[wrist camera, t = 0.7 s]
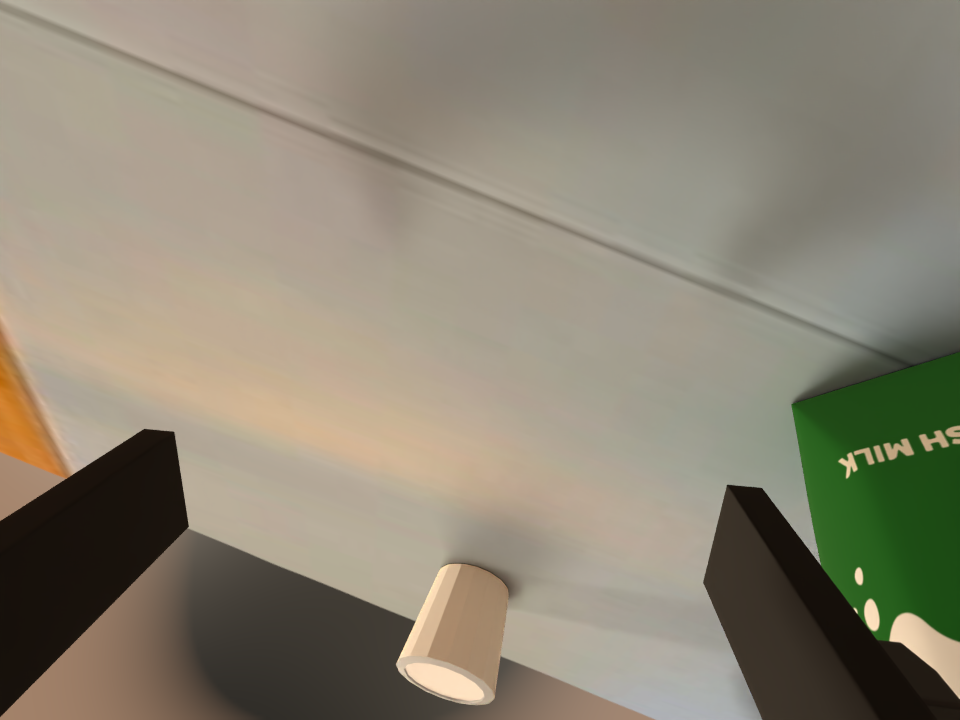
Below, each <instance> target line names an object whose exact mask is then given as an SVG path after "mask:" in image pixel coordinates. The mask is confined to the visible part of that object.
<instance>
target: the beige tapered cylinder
mask: <svg viewBox="0 0 960 720" xmlns="http://www.w3.org/2000/svg"><path fill="white" fill-rule="evenodd" d="M508 598H509V593H508V588H507V587H506V585H505V584H504V583H503V582H502V580H500V579H499V578H498V577H496V576H495V575H493V574H492V573H490V572H488V571H486V570H483V569H481V568H479V567H476V566H471V565H467V564H448V565H446V566H444V567H441V569H440V571H439V573H438V575H437V577H436V579H435V581H434V583H433V586H432V588H431V590H430V592H429V594H428V596H427V599H426V601H425V603H424V605H423V607H422V609H421V612H420V614H419V616H418V618H417V620H416V622H415V625H414V627H413V629H412V631H411V633H410V635H409V638H408V640H407V642H406V644H405V646H404V648H403V651H402V653H401V655H400V657H399V659H398V661H397V664H396V665H397V667H398V670H399V672H400V673H401V674H402V675H403V676H404V677H405V678H406V679H407V680H408V681H410V682H411V683H413V684H415V685H416V686H418V687H419V688H421V689H423V690H424V691H427V692H429V693H431V694H434V695H436V696H438V697H441V698H443V699H447V700H450V701H454V702H457V703H462V704H471V705H483V704H489V703H490V702H491V701H492V700H493V699H494V697H495V690H496V683H497V676H498V669H499V662H500V655H501V648H502V641H503V634H504V627H505V620H506V613H507V605H508Z"/></svg>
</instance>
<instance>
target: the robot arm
mask: <svg viewBox="0 0 960 720" xmlns="http://www.w3.org/2000/svg"><path fill="white" fill-rule="evenodd" d="M188 527H189V525H188V519H187V512H186V505H185V499H184V492H183V486H182V479H181V473H180V466H179V460H178V453H177V447H176V440H175V434H174V432H170V431H160V430H150V429H144V430H142V431H140V432H139V433H137V434H136V435H134V436H133V437H131V438H130V439H128V440H126V441H125V442H123V443H122V444H120V445H119V446H117V447H115V448H114V449H112V450H111V451H109V452H108V453H106V454H105V455H103V456H101V457H100V458H98V459H97V460H95V461H94V462H92V463H90V464H89V465H87V466H86V467H84V468H83V469H81V470H80V471H78V472H76V473H75V474H73V475H72V476H70V477H69V478H67V479H65V480H64V481H62V482H61V483H59V484H58V485H56V486H55V487H53V488H51V489H50V490H48V491H47V492H45V493H44V494H42V495H41V496H39V497H37V498H36V499H34V500H33V501H31V502H29V503H28V504H26V505H25V506H23V507H22V508H20V509H19V510H17V511H15V512H14V513H12V514H11V515H10V516H8V517H6V518H4V519H3V520H1V521H0V717H1V715H3V714H4V713H5V712H6V711H7V710H8V708H9V707H11V706H12V705H13V704H14V703H15V701H16V700H17V699H18V698H19V697H20V696H21V695H22V694H23V693H24V692H25V691H26V690H27V689H28V688H29V687H30V686H31V685H32V684H33V683H34V682H35V681H36V680H37V679H38V678H39V677H40V676H41V675H42V674H43V673H44V672H45V671H46V670H47V669H48V668H49V667H50V666H51V665H52V664H53V663H54V662H55V661H56V660H57V659H58V658H59V657H60V656H61V655H62V654H63V653H64V652H65V651H66V650H67V649H68V648H69V647H70V646H71V645H72V644H73V643H74V642H75V641H76V640H77V639H78V638H79V637H80V636H81V635H82V634H83V633H84V632H85V631H86V630H87V629H88V628H89V627H90V626H91V625H92V624H93V623H94V622H95V621H96V620H97V619H98V618H99V617H100V616H101V615H102V614H103V613H104V612H105V611H106V610H107V609H108V608H109V607H110V606H111V605H112V604H113V603H114V602H115V600H116V599H117V598H119V597H120V595H121V594H122V593H124V591H126V589H127V588H128V587H129V586H130V585H131V584H132V583H133V582H134V581H135V580H136V579H137V578H138V577H139V576H140V575H141V574H142V573H143V572H144V571H145V570H146V569H147V568H148V567H149V566H150V565H151V564H152V563H153V562H154V561H155V560H156V559H157V558H158V557H159V556H160V555H161V554H162V553H163V552H164V551H165V550H166V549H167V548H168V547H169V546H170V545H171V544H172V543H173V542H174V541H175V540H176V539H177V538H178V537H179V536H180V535H181V534H182V533H183V532H184V531H185V530H186V529H187V528H188ZM703 583H704V585H705V588H706V590H707V592H708V595H709V597H710V599H711V601H712V604H713V606H714V608H715V611H716V613H717V615H718V618H719V620H720V622H721V625H722V627H723V629H724V631H725V634H726V636H727V638H728V641H729V643H730V645H731V648H732V650H733V652H734V655H735V657H736V659H737V662H738V664H739V666H740V668H741V671H742V673H743V675H744V678H745V680H746V682H747V685H748V687H749V689H750V692H751V694H752V696H753V699H754V701H755V703H756V705H757V708H758V710H759V712H760V715H761V717H762V719H763V720H960V699H959V698H958V696H957V695H956V694H955V693H954V692H953V690H952V689H951V688H950V687H949V686H948V684H947V683H946V682H945V681H944V680H943V678H942V677H941V676H940V675H939V674H938V672H937V671H936V670H934V669H933V668H932V667H931V666H929V665H928V664H927V663H926V662H924V661H923V660H922V659H921V658H920V657H918V656H917V655H916V654H915V653H913V652H912V651H911V650H910V649H908V648H907V647H906V646H905V645H903V644H902V643H901V642H892V641H883V640H877V639H876V638H875V637H874V635H873V634H872V633H871V631H870V630H869V629H868V627H867V626H866V625H865V623H864V622H863V621H862V619H861V618H860V617H859V615H858V614H857V613H856V611H855V610H854V609H853V607H852V606H851V605H850V604H849V602H848V601H847V600H846V598H845V597H844V596H843V594H842V593H841V592H840V590H839V589H838V588H837V586H836V585H835V584H834V582H833V581H832V580H831V578H830V577H829V576H828V575H827V573H826V572H825V571H824V569H823V568H822V567H821V565H820V564H819V563H818V561H817V560H816V559H815V557H814V556H813V555H812V553H811V552H810V551H809V549H808V548H807V547H806V545H805V544H804V543H803V542H802V540H801V539H800V538H799V536H798V535H797V534H796V532H795V531H794V530H793V528H792V527H791V526H790V524H789V523H788V522H787V520H786V519H785V518H784V516H783V515H782V514H781V512H780V511H779V510H778V509H777V507H776V506H775V505H774V503H773V502H772V501H771V499H770V498H769V497H768V495H767V494H766V493H765V491H764V490H763V489H762V488H755V487H745V486H735V485H727V488H726V492H725V496H724V500H723V504H722V508H721V512H720V516H719V520H718V524H717V528H716V533H715V537H714V541H713V545H712V549H711V553H710V557H709V561H708V565H707V569H706V574H705V578H704V582H703Z"/></svg>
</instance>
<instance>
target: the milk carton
mask: <svg viewBox="0 0 960 720" xmlns="http://www.w3.org/2000/svg"><path fill="white" fill-rule="evenodd" d="M791 405H792V410H793V415H794V421H795V426H796V432H797V438H798V444H799V450H800V455H801V461H802V467H803V473H804V478H805V484H806V490H807V496H808V501H809V507H810V512H811V518H812V523H813V528H814V533H815V538H816V543H817V548H818V553H819V557H820V562H821V567H822V568H823V569H824V571H825V572H826V573H827V575H828V576H829V577H830V578H831V580H832V581H833V582H834V584H835V585H836V586H837V588H838V589H839V590H840V592H841V593H842V594H843V596H844V597H845V598H846V600H847V601H848V602H849V604H850V605H851V606H852V607H853V609H854V610H855V611H856V613H857V614H858V615H859V617H860V618H861V619H862V621H863V622H864V623H865V625H866V626H867V627H868V629H869V630H870V631H871V633H872V634H873V635H874V637H875V638H876V639H877V640H883V641H892V642H901V643H902V644H903V645H905V646H906V647H907V648H908V649H910V650H911V651H912V652H913V653H915V654H916V655H917V656H918V657H920V658H921V659H922V660H923V661H924V662H926V663H927V664H928V665H929V666H931V667H932V668H933V669H934V670H936V671H937V672H938V674H939V675H940V676H941V677H942V678H943V680H944V681H945V682H946V683H947V684H948V686H949V687H950V688H951V689H952V690H953V692H954V693H955V694H956V695H957V696H958V698H959V699H960V352H958V353H955V354H952V355H948V356H945V357H942V358H939V359H935V360H932V361H929V362H926V363H923V364H919V365H916V366H913V367H910V368H906V369H903V370H900V371H897V372H894V373H890V374H887V375H884V376H881V377H877V378H874V379H871V380H868V381H865V382H861V383H858V384H855V385H852V386H848V387H845V388H842V389H839V390H836V391H832V392H829V393H826V394H823V395H819V396H816V397H813V398H810V399H807V400H803V401H800V402H797V403H793V404H791Z"/></svg>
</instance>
